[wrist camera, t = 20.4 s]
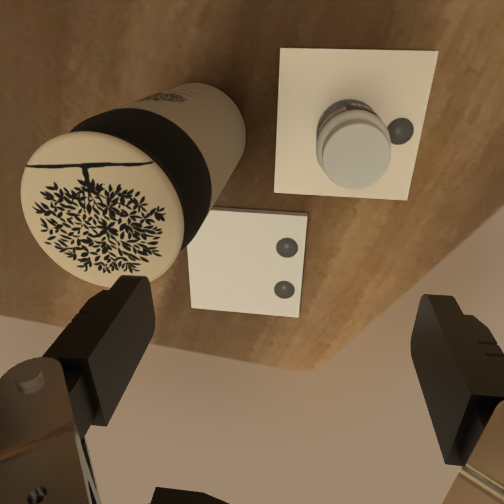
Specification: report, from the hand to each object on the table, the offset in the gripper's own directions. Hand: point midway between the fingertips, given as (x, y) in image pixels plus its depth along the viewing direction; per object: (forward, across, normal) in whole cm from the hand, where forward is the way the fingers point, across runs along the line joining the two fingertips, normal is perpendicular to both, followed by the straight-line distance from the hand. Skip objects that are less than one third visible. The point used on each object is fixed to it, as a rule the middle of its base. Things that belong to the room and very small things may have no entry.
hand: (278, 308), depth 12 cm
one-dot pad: (+23, -4, 0) cm, 24 cm away
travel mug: (+24, +8, 0) cm, 25 cm away
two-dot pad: (+23, +4, +12) cm, 27 cm away
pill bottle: (+23, -4, 0) cm, 23 cm away
